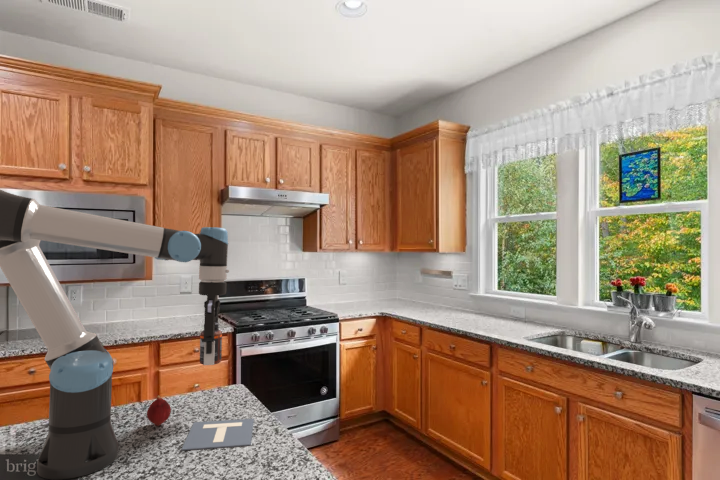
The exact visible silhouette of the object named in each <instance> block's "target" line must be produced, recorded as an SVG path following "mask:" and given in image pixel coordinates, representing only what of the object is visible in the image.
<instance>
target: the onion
mask: <svg viewBox="0 0 720 480" xmlns="http://www.w3.org/2000/svg"><path fill="white" fill-rule="evenodd" d="M171 412H172V407H171V405H170V404H169V402H168V401H167V400H166V399H164V398H163V397H161V396H160V395H157V397H156V399H155V400H154V401H152V402H151V403H150V405H149V407H148V408H147V411H146V416H147V417H146V418H147V419H148V421H149V422H150V423H152V424H153V425H155V426H156V427H159V426H161V425H163V424H164V423H165V422H167V420H169V418H170V416H171Z"/></svg>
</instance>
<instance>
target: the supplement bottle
mask: <svg viewBox="0 0 720 480" xmlns="http://www.w3.org/2000/svg"><path fill="white" fill-rule="evenodd" d="M219 327H220V325H219V322H218V323H215V334H214V339H215V340H214V341H215V353H214V365H218V364H220V363H221V362H222V351H223V347H222V346H223V333H222V332H223V331H222V330H220V329H219ZM199 335H200V336H199V364H201V365H203V366H205V365H204V342H202V340H203V338H204V329H203V330H202V331H200V334H199Z"/></svg>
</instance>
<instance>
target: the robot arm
mask: <svg viewBox="0 0 720 480" xmlns="http://www.w3.org/2000/svg"><path fill="white" fill-rule="evenodd" d="M228 237H229V233H228V230H227V229H226V228H225V227H216V226H214V227H210V226H209V227H207V226H206V227H205V226H204V227H201V228H200V232H199V233H193V232H192V231H188V230H177V229H173V228H166V227H162V226H161V227H160V226H155V225H150V224H145V223H140V222H134V221H129V220H124V219H119V218H113V217H107V216H102V215H97V214H92V213H86V212H81V211H76V210H70V209H65V208H59V207H53V206H49V205H44V204H40V203H39V202H38V201H37V199H35V198H31V197H26V196H23V195H22V196H21V195H17V194H14V193H10V192H7V191H4V190H3V189H0V269H1V271H2V272H3V274H4V275H3V276H5V278H6V279H7V282H8V283H9V285H10V287H11V288H12V290H13V291H14V294H15V296H16V297H17V299H18V300H19V302H20V304H21V305H22V307H23V309H24V311H25V312H26V314H27V316H28V318H29V320H30V321H31V323H32V325H33V326H34V328H35V330H36V332H37V333H38V335H39V337H40V338H41V340H42V343H44V346H45V347H46V348H47V352H46V354H45V357H44V361H45V363H46V364H47V366H48V368H49V370H50V371H49V373H48V374H49V375H48V381H49V406H48V407H49V408H48V410H49V411H48V433H47V436H46V438H45V441H44V443H43V446H42V449H41V451H40V454H39V456H38V458H37V462H36V463H37V464H36V473H37V475H38V476H39V477H40V478H42V479H45V480H70V479H74V478H79V477H83V476H86V475H90V474H93V473H95V472H99V471H101V470H102V469H104V468H106V467H108V466H110V465H111V464H113V463H114V462H115V461H116V460H117V459H118V457H119V448H120V446H119V442H118V439H117V436H116V434H115V433H116V432H115V431H114V428H113V425H112V420H111V419H112V393H113V392H112V391H113V390H112V387H113V384H112V383H113V372H114V360H113V358H112V355H111V354H110V352H109V351H108V350H107V349H106V348H105V347H104V346H103V344H102V342H101V341H100V339H99V338H98V335H97V334H96V333H94V332H91V331H88V330H86V328H85V326H84V325H83V323H82V321H81V318H80V317H79V315H78V314H77V312H76V310H75V308H74V307H73V304H72V303H71V301H70V299H69V298H68V295H67V294H66V292H65V290H64V288H63V286H62V285H61V283H60V281H59V280H58V278H57V275H56V273H55V271H54V270H53V268H52V267H51V265H50V263H49V261H48V260H47V258H46V256H45V254H44V253H43V250H42V249H41V247H40V243H41V241H43V242H44V241H45V242H49V243H50V242H51V243H56V244H57V243H58V244H64V245H70V246H76V247H77V246H78V247H84V248H90V249H98V250H104V251H111V252H116V253H117V252H119V253H124V254H131V255H138V256H144V257H151V258H154V259H155V260H161V261H163V260H164V261H176V262H179V263H188V262H191V261H199V265H198V266H199V268H198V269H199V273H198V280H200V282H198V294H199V295H200V296H207V297H206V300H205V301H204V305H203V308H204V314H203V315H204V322H203V330H204V338H203V340H202V342H204V365H203V366H214V365H215V364H214V353H215V341H214V340H215V339H214V334H215V323H218V324H219V314H220V306H221V300H220V299H219V297H218V296H224V295H226V294H227V284H228V283H227V282H226V280H227V274H228V273H230V269H227V268H228V250H229V248H228V247H229V238H228Z"/></svg>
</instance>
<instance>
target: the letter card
mask: <svg viewBox="0 0 720 480" xmlns="http://www.w3.org/2000/svg"><path fill="white" fill-rule="evenodd" d="M254 423H255V419H254V418H243V419H242V418H240V419H238V418H237V419H224V420H211V421H210V420H207V421H194V422H193V423H192V425H191V428H190V430H189V432H188V434H187V437H186V438H185V440H184V443H183V445H182V447H181V451H193V450H207V449H208V450H209V449H219V448H222V449H223V448H234V447H236V448H237V447H246V446H249V447H251V446H252V439H253V429H254Z"/></svg>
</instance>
